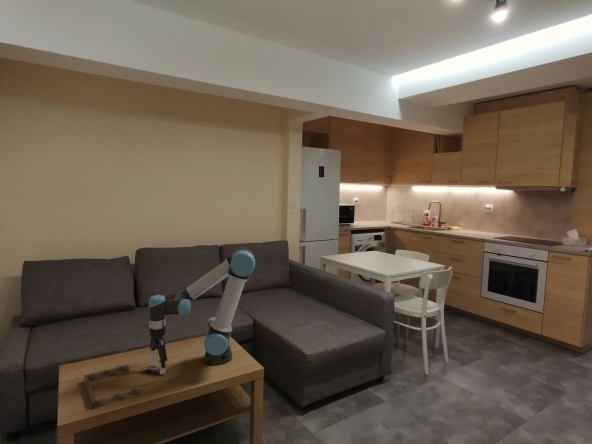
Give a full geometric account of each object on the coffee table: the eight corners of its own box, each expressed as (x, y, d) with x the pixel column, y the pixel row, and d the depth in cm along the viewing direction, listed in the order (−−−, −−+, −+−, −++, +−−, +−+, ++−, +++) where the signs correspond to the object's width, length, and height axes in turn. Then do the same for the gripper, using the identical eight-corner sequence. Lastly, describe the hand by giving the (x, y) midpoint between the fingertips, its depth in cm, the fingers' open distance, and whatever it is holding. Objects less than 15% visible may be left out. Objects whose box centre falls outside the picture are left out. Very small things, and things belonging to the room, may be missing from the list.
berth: (128, 369, 180) (128, 364, 180) (141, 394, 159) (141, 388, 159) (84, 381, 169) (83, 375, 168) (92, 410, 147) (92, 403, 147)
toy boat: (140, 370, 178) (141, 362, 178) (147, 368, 183) (148, 359, 184) (161, 375, 174) (162, 366, 174) (168, 372, 179) (169, 364, 179)
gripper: (142, 321, 182) (143, 360, 184) (157, 337, 162) (158, 381, 164) (157, 318, 186) (158, 356, 188) (173, 333, 167) (174, 376, 169)
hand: (158, 368), depth 176 cm, fingers open, 13 cm apart
